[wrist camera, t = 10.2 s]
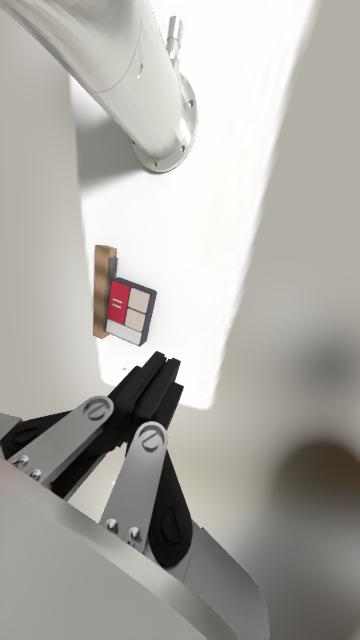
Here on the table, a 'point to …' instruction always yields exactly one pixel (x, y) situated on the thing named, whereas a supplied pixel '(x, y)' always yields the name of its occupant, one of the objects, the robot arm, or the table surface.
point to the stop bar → (103, 286)
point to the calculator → (130, 311)
